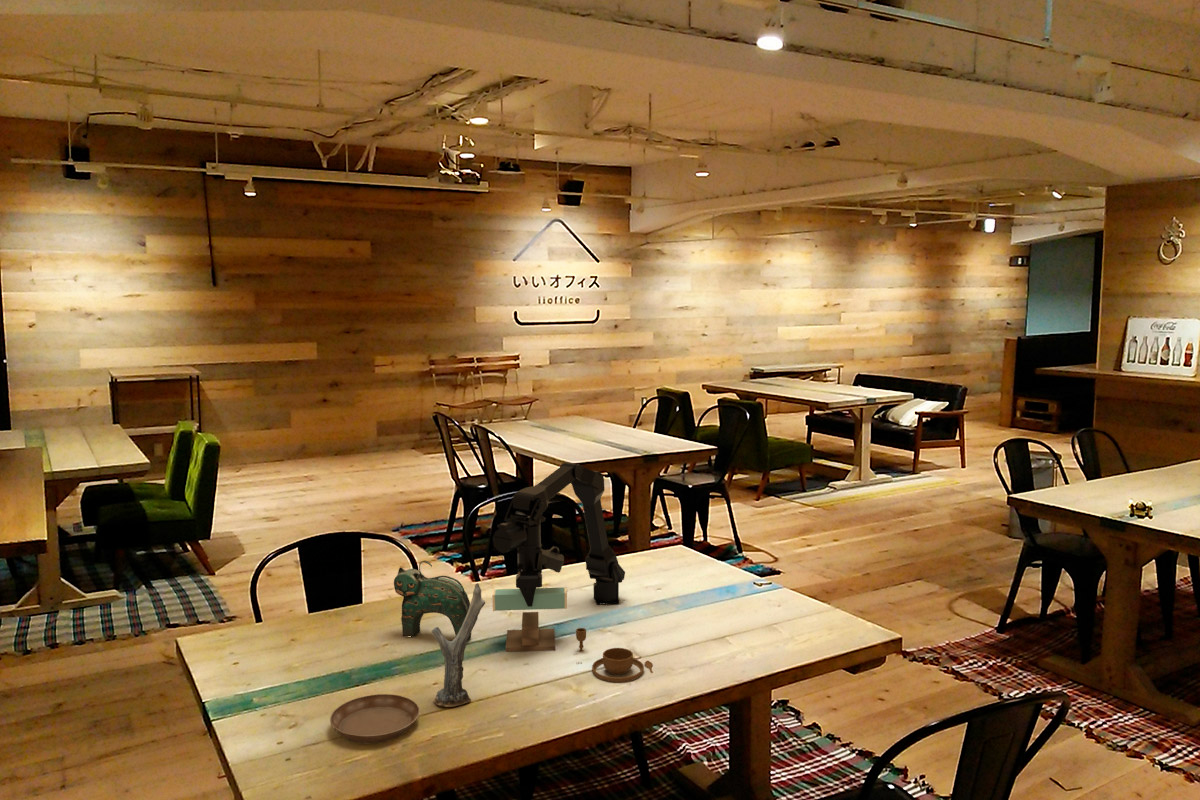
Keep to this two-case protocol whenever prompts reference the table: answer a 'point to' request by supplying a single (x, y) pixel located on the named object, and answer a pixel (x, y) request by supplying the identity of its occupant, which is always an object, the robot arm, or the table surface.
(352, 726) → the plant saucer
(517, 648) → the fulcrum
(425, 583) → the ceramic cat
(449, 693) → the bare tree trunk
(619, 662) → the place setting
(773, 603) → the table surface
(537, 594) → the bar
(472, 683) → the table surface
